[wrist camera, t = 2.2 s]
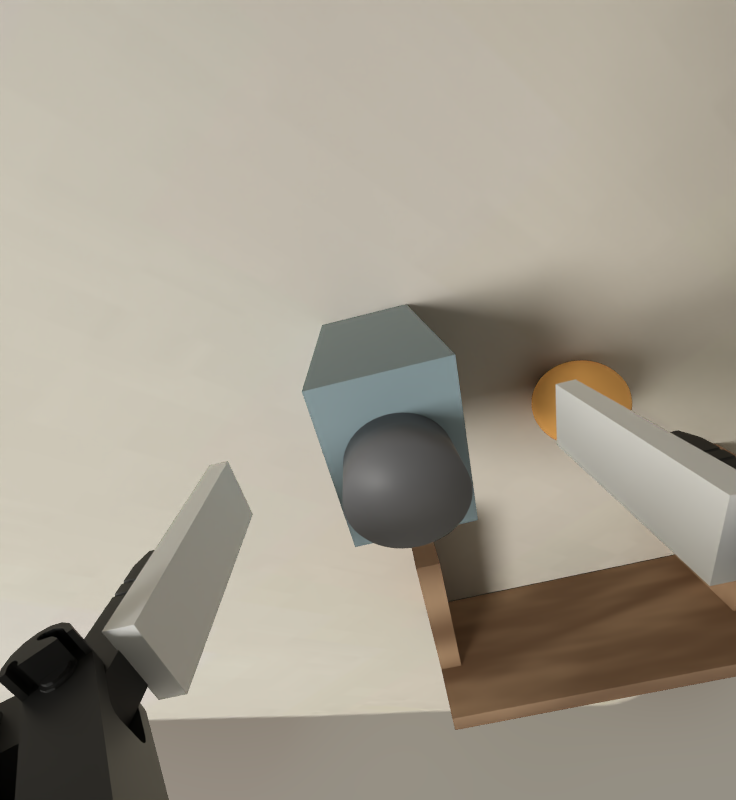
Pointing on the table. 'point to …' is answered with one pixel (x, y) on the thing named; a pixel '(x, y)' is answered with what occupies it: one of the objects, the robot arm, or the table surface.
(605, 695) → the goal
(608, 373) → the ball
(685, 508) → the robot arm
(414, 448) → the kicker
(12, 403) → the table surface
